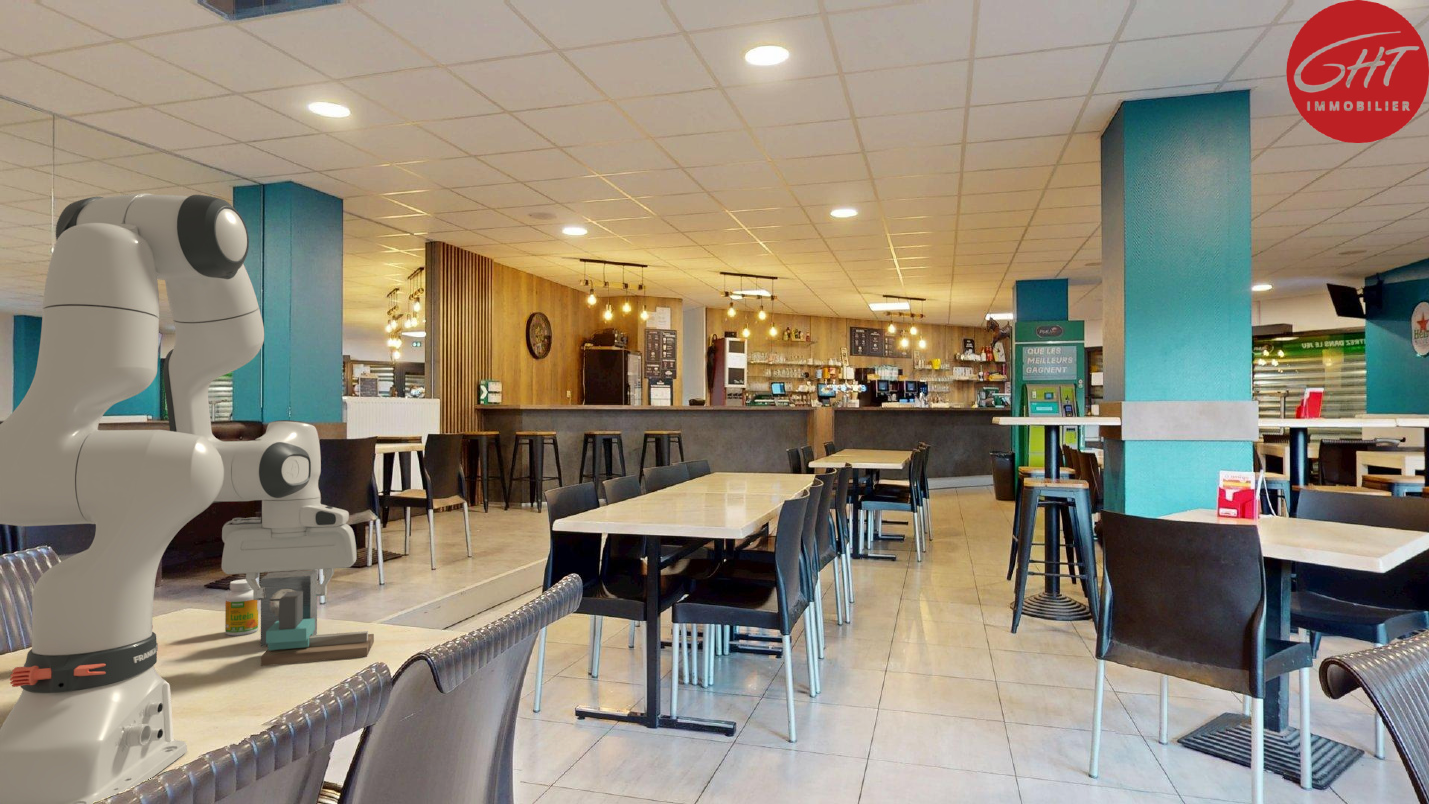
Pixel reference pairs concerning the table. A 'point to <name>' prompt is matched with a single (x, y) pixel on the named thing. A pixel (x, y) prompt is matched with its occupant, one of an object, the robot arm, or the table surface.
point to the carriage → (290, 624)
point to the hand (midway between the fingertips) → (290, 597)
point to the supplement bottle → (240, 609)
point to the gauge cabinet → (279, 586)
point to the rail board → (323, 649)
